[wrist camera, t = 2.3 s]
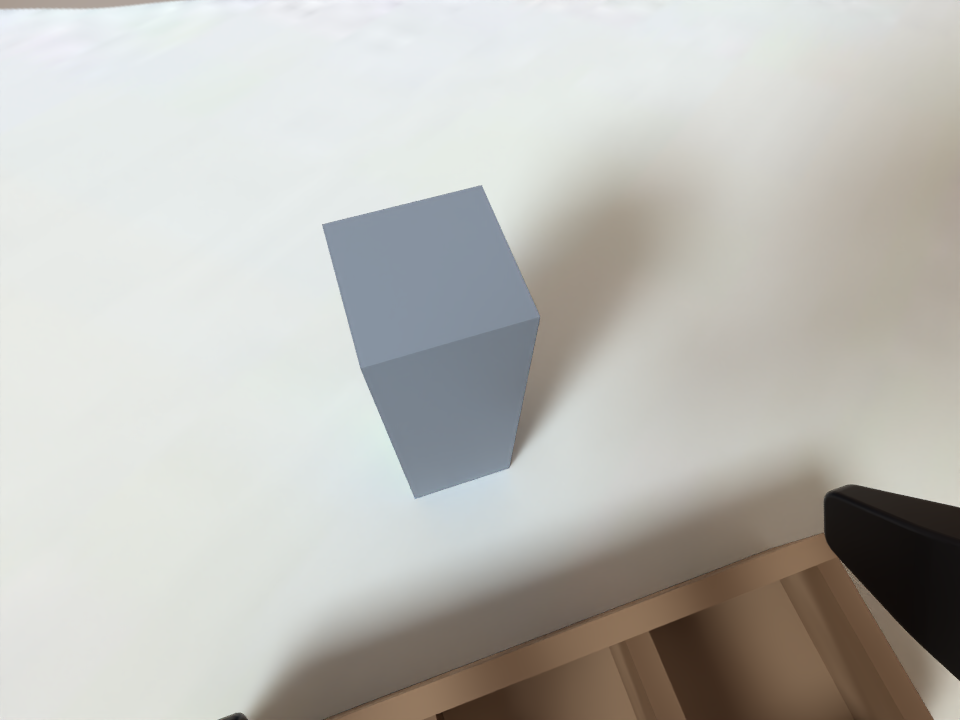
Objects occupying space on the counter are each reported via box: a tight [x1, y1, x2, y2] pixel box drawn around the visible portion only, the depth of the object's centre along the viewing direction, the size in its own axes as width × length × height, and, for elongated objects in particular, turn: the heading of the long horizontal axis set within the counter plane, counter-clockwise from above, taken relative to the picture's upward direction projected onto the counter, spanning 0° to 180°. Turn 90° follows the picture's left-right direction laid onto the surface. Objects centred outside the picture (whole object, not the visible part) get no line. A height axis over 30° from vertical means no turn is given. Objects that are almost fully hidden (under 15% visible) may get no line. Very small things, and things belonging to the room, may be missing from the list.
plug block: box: [322, 185, 540, 499], centre depth 18 cm, size 4×4×12 cm
